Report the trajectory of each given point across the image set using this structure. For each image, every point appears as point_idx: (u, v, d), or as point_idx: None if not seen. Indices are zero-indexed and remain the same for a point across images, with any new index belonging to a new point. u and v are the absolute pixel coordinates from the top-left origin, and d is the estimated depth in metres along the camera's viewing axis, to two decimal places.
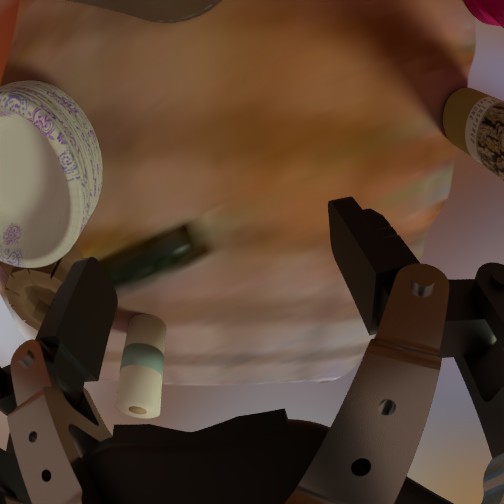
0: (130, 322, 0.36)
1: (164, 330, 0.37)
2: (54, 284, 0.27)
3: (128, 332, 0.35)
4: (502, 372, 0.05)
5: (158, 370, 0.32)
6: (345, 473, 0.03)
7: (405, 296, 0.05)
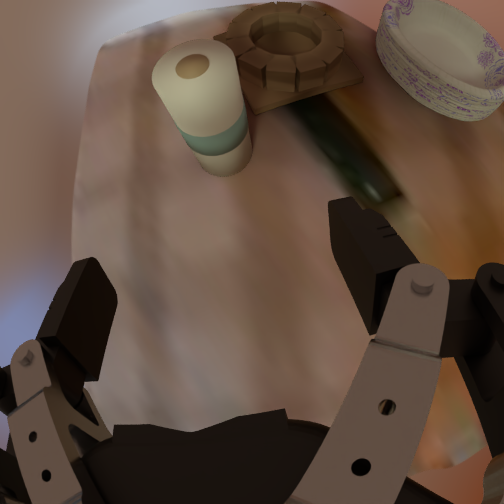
0: None
1: (231, 170, 0.26)
2: (331, 48, 0.24)
3: None
4: (502, 372, 0.05)
5: (226, 132, 0.20)
6: (345, 473, 0.03)
7: (405, 296, 0.05)
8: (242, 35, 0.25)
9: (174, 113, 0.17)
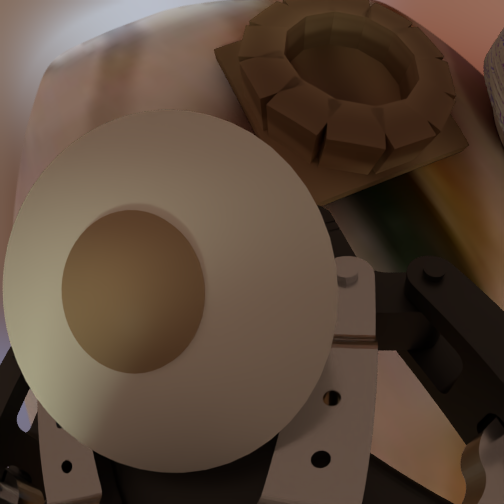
0: None
1: None
2: (438, 96, 0.12)
3: None
4: (455, 360, 0.06)
5: None
6: (307, 468, 0.03)
7: None
8: (271, 51, 0.13)
9: None
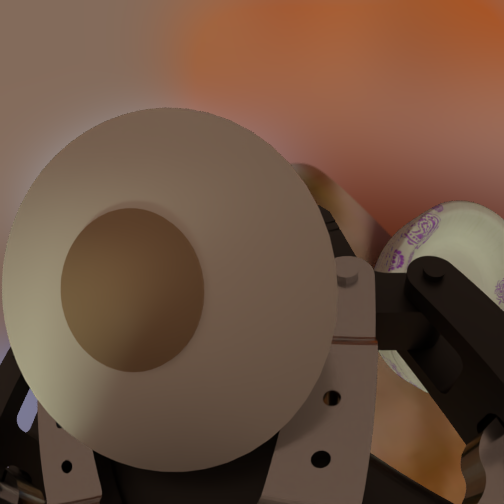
0: None
1: None
2: None
3: None
4: (455, 360, 0.06)
5: None
6: (307, 468, 0.03)
7: None
8: None
9: None
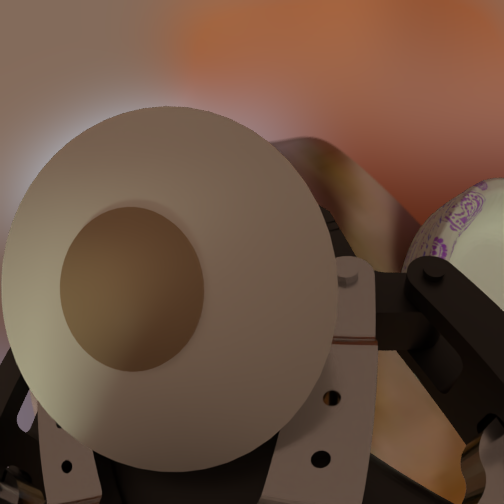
0: None
1: None
2: None
3: None
4: (455, 360, 0.06)
5: None
6: (307, 468, 0.03)
7: None
8: None
9: None
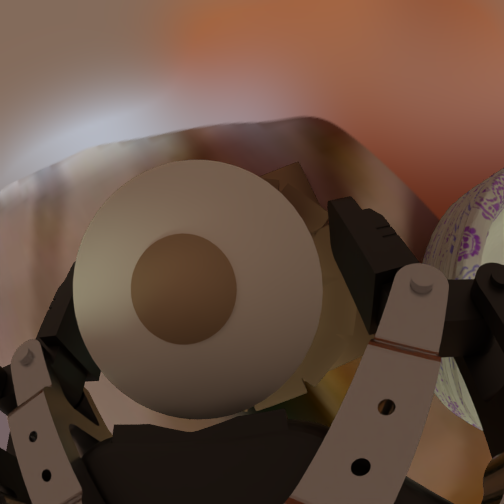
0: None
1: None
2: (326, 343, 0.14)
3: None
4: (502, 372, 0.05)
5: None
6: (345, 473, 0.03)
7: (404, 296, 0.05)
8: None
9: None
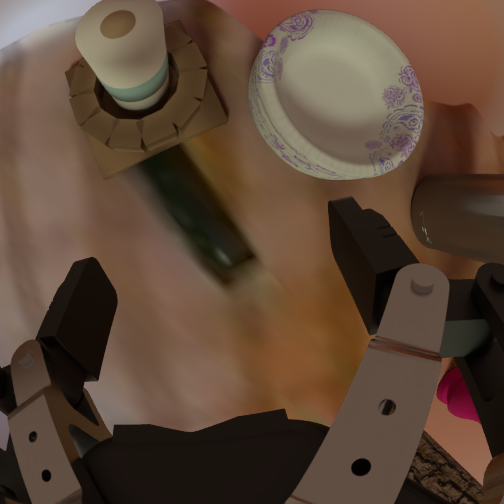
0: None
1: (148, 111, 0.23)
2: (186, 102, 0.22)
3: None
4: (502, 372, 0.05)
5: (147, 83, 0.17)
6: (345, 473, 0.03)
7: (405, 296, 0.05)
8: (86, 89, 0.20)
9: (97, 71, 0.14)
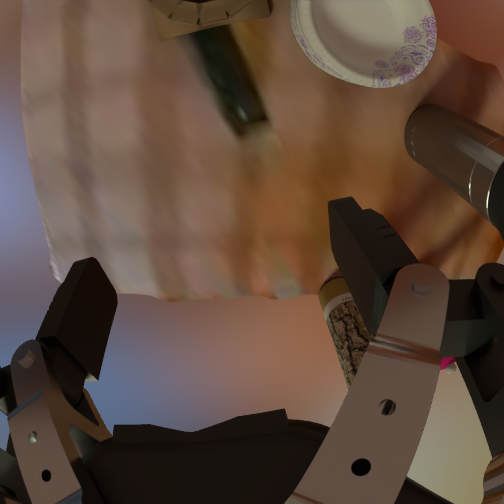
0: None
1: None
2: None
3: None
4: (502, 372, 0.05)
5: None
6: (345, 473, 0.03)
7: (405, 296, 0.05)
8: None
9: None
